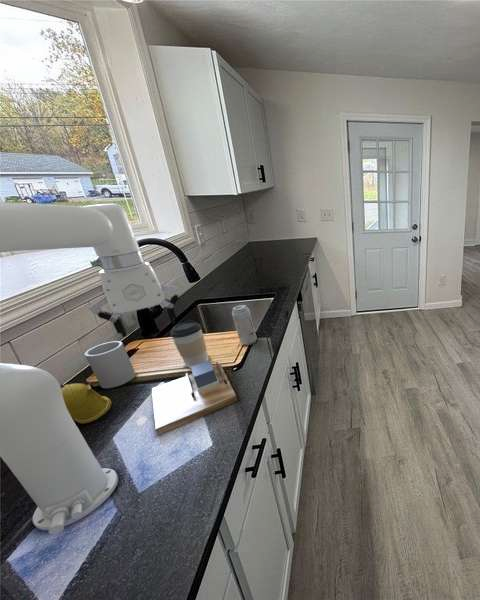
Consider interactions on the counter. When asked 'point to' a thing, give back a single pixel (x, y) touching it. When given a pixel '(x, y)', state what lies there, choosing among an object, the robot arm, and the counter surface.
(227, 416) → the counter surface
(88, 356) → the cup
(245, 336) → the energy drink can
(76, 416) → the yellow rounded dome part
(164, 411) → the wooden base
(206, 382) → the blue and white block
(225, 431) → the counter surface
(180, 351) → the coffee cup
